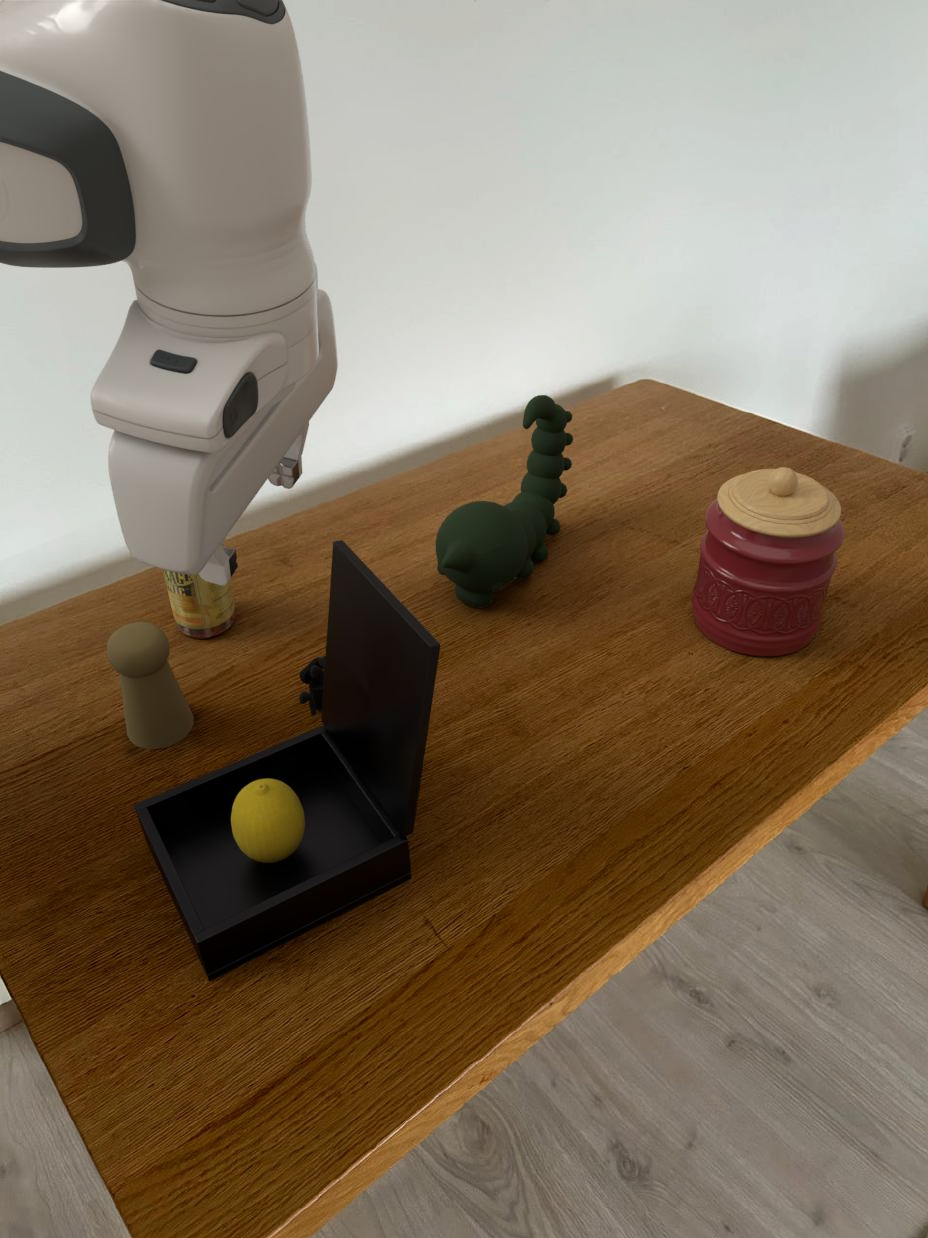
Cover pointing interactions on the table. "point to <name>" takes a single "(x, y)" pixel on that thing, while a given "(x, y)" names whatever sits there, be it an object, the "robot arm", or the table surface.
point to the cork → (148, 686)
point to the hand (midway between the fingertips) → (254, 525)
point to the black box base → (281, 891)
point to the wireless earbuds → (313, 684)
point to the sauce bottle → (200, 604)
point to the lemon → (267, 820)
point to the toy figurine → (509, 516)
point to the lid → (378, 684)
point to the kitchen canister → (767, 562)
